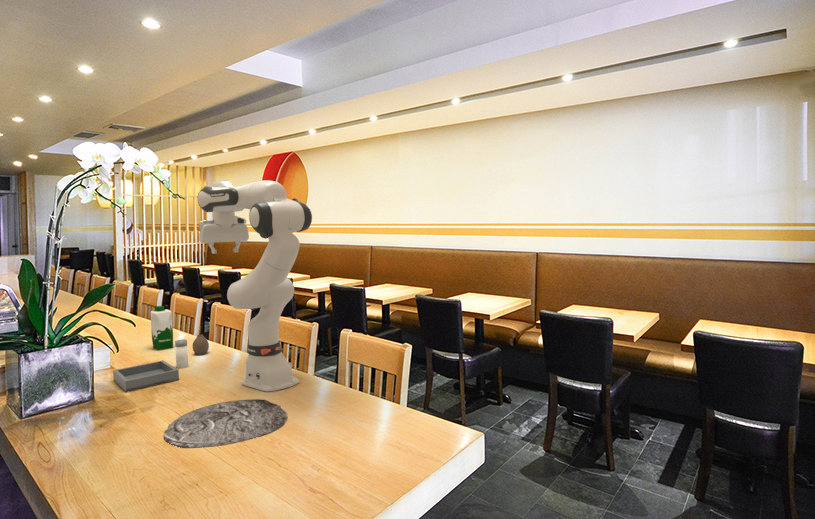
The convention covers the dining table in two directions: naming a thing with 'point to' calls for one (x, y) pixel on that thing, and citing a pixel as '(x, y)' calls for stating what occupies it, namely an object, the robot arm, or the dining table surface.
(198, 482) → the dining table surface
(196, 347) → the vase
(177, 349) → the shaker
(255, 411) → the worn metal disc
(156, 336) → the milk carton
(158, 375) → the tray
